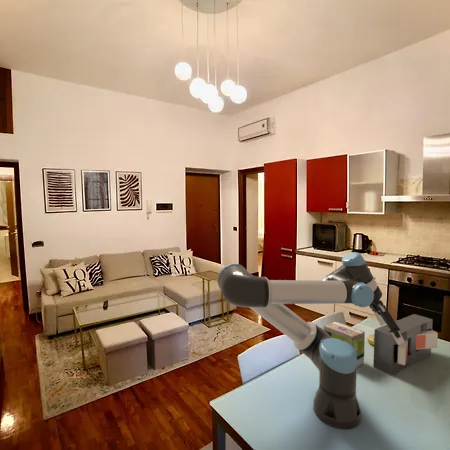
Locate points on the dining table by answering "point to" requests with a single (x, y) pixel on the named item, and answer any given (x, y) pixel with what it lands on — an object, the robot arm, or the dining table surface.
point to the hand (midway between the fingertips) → (391, 333)
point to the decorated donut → (371, 339)
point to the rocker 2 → (426, 340)
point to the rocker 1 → (402, 352)
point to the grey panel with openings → (389, 348)
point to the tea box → (348, 338)
